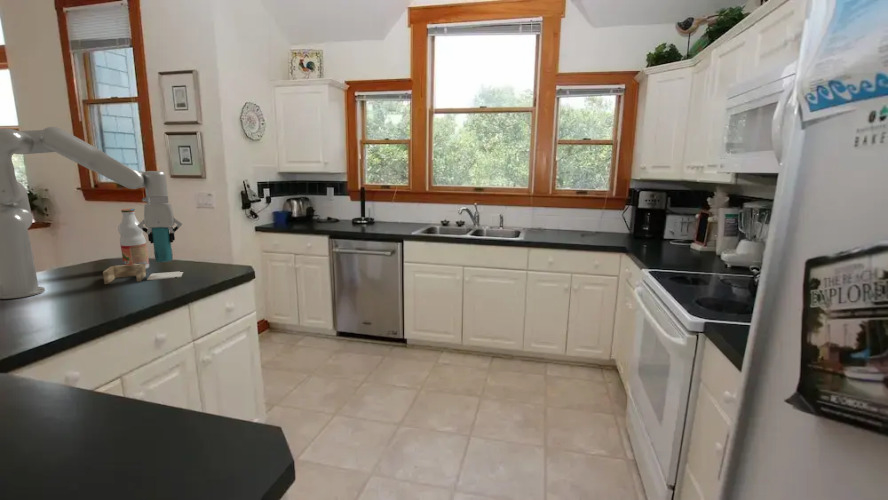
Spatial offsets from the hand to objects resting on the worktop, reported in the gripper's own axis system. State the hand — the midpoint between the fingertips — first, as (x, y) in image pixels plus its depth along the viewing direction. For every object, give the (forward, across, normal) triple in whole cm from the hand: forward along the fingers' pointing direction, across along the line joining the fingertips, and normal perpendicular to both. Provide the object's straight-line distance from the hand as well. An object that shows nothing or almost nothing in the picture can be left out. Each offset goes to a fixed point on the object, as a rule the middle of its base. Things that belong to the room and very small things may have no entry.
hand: (162, 242), depth 173 cm
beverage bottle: (+10, 0, 0) cm, 10 cm away
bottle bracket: (+15, -14, 0) cm, 21 cm away
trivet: (+15, 0, 0) cm, 15 cm away
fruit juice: (+15, -14, +20) cm, 29 cm away
